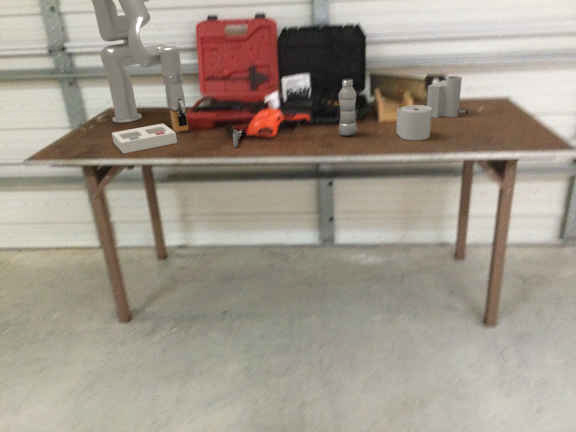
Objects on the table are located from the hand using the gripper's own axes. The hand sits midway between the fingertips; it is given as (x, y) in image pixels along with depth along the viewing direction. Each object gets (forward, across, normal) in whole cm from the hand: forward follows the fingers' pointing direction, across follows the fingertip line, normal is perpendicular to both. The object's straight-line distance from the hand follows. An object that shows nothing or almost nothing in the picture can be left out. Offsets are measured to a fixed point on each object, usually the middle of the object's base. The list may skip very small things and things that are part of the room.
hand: (179, 123), depth 207 cm
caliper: (+3, +28, +14) cm, 31 cm away
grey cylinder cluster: (+3, +53, +95) cm, 109 cm away
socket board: (+3, +9, -17) cm, 19 cm away
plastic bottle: (+3, +49, +48) cm, 69 cm away
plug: (+3, 0, 0) cm, 3 cm away
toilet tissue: (+3, +65, +65) cm, 92 cm away
